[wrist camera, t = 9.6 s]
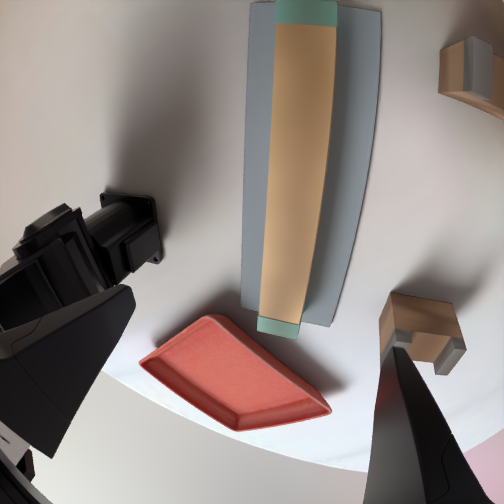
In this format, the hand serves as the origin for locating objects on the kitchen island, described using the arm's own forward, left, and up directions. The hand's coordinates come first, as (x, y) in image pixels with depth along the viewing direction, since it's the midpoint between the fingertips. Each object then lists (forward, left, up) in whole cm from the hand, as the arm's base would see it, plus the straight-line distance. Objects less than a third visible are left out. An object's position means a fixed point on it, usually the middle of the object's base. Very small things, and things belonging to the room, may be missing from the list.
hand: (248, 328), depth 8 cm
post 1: (+11, -8, -12) cm, 18 cm away
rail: (0, +1, -12) cm, 12 cm away
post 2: (+11, +10, -12) cm, 19 cm away
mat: (0, +1, -12) cm, 12 cm away
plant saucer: (-5, -23, -13) cm, 26 cm away
